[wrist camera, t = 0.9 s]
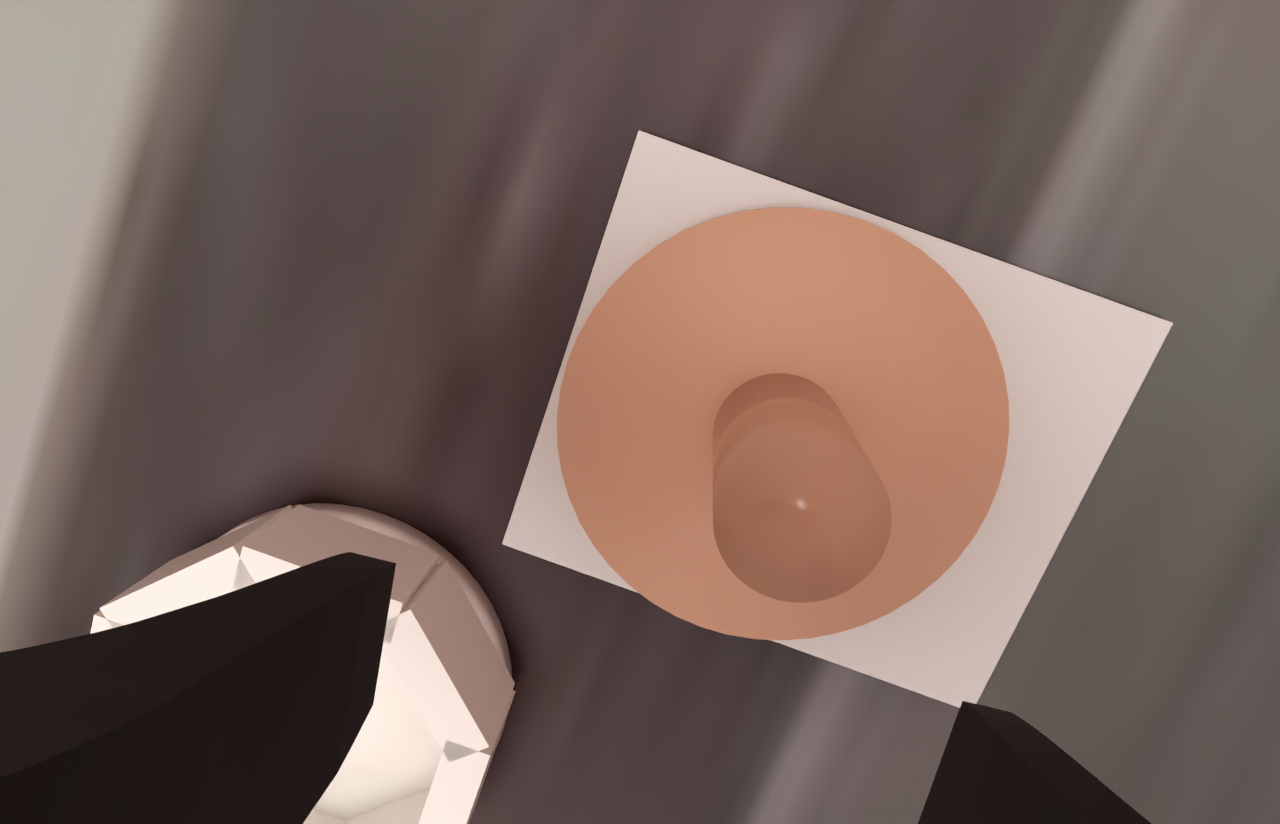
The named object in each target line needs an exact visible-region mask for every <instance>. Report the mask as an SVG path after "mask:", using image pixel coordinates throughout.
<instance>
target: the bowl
mask: <svg viewBox="0 0 1280 824" xmlns="http://www.w3.org/2000/svg"><path fill="white" fill-rule="evenodd" d="M347 552H352V553H356V554H360V555H364V556H369V557H373V558H377V559H381V560H385V561H389V562H393V563H396V567H395V574H394V580H393V586H392V592H391V598H390V604H389V611H388V617H387V623H386V629H385V635H384V641H383V647H382V654H381V660H380V666H379V672H378V678H377V684H376V690H375V697H374V703H373V706H372V708H371V710H370V712H369V714H368V716H367V718H366V720H365V722H364V724H363V726H362V728H361V730H360V732H359V734H358V735H357V737H356V739H355V741H354V743H353V745H352V747H351V749H350V751H349V753H348V754H347V756H346V758H345V760H344V762H343V764H342V766H341V767H340V769H339V771H338V773H337V775H336V776H335V778H334V779H333V781H332V782H331V783H330V785H329V786H328V788H327V789H326V791H325V792H324V794H323V795H322V797H321V798H320V800H319V801H318V802H317V804H316V805H315V807H314V808H313V810H312V811H311V812H310V814H309V815H308V817H307V818H306V820H305V821H304V823H303V824H469V821H470V819H471V816H472V814H473V811H474V809H475V806H476V803H477V800H478V797H479V795H480V792H481V789H482V786H483V783H484V780H485V778H486V775H487V772H488V769H489V766H490V763H491V761H492V758H493V755H494V752H495V749H496V747H497V744H498V742H499V739H500V737H501V734H502V731H503V729H504V726H505V723H506V719H507V715H508V712H509V709H510V707H511V704H512V701H513V698H514V695H515V692H516V691H514V690H513V687H514V685H515V682H514V681H513V679H512V666H511V660H510V654H509V648H508V644H507V641H506V637H505V634H504V631H503V628H502V625H501V623H500V620H499V618H498V616H497V614H496V612H495V610H494V608H493V606H492V604H491V602H490V600H489V599H488V597H487V596H486V594H485V593H484V591H483V589H482V588H481V586H480V585H479V583H478V582H477V581H476V580H475V579H474V577H473V576H472V575H471V574H470V573H469V571H468V570H467V569H466V568H465V567H464V566H463V565H462V564H461V563H460V562H459V561H458V560H457V559H456V558H455V557H454V556H453V555H452V554H451V553H450V552H449V551H448V550H446V549H445V548H444V547H442V546H441V545H440V544H438V543H437V542H436V541H434V540H433V539H432V538H430V537H429V536H427V535H426V534H424V533H422V532H420V531H419V530H417V529H415V528H413V527H412V526H410V525H408V524H406V523H404V522H402V521H399V520H397V519H395V518H392V517H390V516H387V515H385V514H382V513H378V512H375V511H371V510H368V509H365V508H361V507H354V506H348V505H342V504H327V503H311V504H300V505H292V506H291V505H288V506H286V507H283V508H279V509H274V510H271V511H268V512H265V513H263V514H260V515H257V516H255V517H252V518H250V519H248V520H247V521H245V522H243V523H241V524H239V525H238V526H236V527H234V528H232V529H231V530H229V531H228V532H227V533H225V534H224V535H222V536H221V537H219V538H218V539H216V540H213V541H211V542H209V543H207V544H205V545H203V546H201V547H198V548H196V549H194V550H192V551H190V552H188V553H186V554H183V555H181V556H179V557H177V558H175V559H173V560H171V561H169V562H168V563H166V564H165V565H163V566H162V567H160V568H159V569H157V570H156V571H154V572H153V573H151V574H150V575H148V576H147V577H145V578H144V579H142V580H141V581H139V582H138V583H136V584H135V585H133V586H132V587H130V588H129V589H127V590H126V591H124V592H123V593H121V594H120V595H118V596H117V597H115V598H114V599H112V600H111V601H109V602H108V603H106V604H105V605H103V606H102V607H100V611H99V612H97V613H96V614H94V618H93V623H92V628H91V633H90V634H92V633H96V632H100V631H104V630H108V629H112V628H116V627H119V626H123V625H127V624H130V623H134V622H138V621H141V620H144V619H147V618H151V617H154V616H157V615H160V614H163V613H167V612H170V611H173V610H176V609H180V608H183V607H186V606H189V605H192V604H196V603H199V602H202V601H205V600H209V599H212V598H215V597H218V596H221V595H224V594H227V593H230V592H232V591H235V590H238V589H241V588H244V587H247V586H249V585H252V584H255V583H258V582H261V581H263V580H266V579H269V578H272V577H275V576H277V575H280V574H283V573H286V572H288V571H291V570H294V569H297V568H299V567H302V566H305V565H308V564H311V563H314V562H316V561H319V560H322V559H325V558H328V557H331V556H335V555H338V554H342V553H347Z"/></svg>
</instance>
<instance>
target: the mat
mask: <svg viewBox="0 0 1280 824" xmlns="http://www.w3.org/2000/svg"><path fill="white" fill-rule="evenodd" d="M768 207H799V208H808V209H815V210H822V211H829V212H836V213H840V214H843V215H847V216H850V217H854V218H857V219H861V220H864V221H867V222H869V223H872V224H874V225H876V226H879V227H881V228H883V229H885V230H888V231H890V232H892V233H894V234H896V235H898V236H899V237H901V238H903V239H904V240H906V241H907V242H909V243H911V244H912V245H914V246H916V247H917V248H919V249H920V250H922V251H923V252H924V253H925V254H927V255H928V256H929V257H930V258H931V259H933V260H934V261H935V262H936V263H937V264H939V265H940V266H941V267H942V268H944V269H945V270H946V271H947V273H948V274H949V275H950V276H951V277H952V278H953V279H954V280H955V281H956V282H957V284H958V285H959V286H960V287H961V288H962V289H963V290H964V291H965V293H966V294H967V296H968V297H969V298H970V300H971V301H972V303H973V304H974V306H975V307H976V309H977V310H978V312H979V313H980V315H981V316H982V318H983V320H984V322H985V324H986V326H987V328H988V330H989V332H990V335H991V337H992V339H993V341H994V343H995V345H996V349H997V352H998V355H999V358H1000V361H1001V364H1002V367H1003V371H1004V375H1005V381H1006V387H1007V393H1008V399H1009V438H1008V446H1007V455H1006V461H1005V465H1004V468H1003V472H1002V476H1001V480H1000V484H999V487H998V490H997V492H996V495H995V497H994V499H993V502H992V504H991V507H990V509H989V512H988V514H987V515H986V517H985V519H984V521H983V522H982V524H981V526H980V528H979V529H978V531H977V533H976V535H975V536H974V538H973V539H972V541H971V542H970V543H969V545H968V546H967V547H966V549H965V550H964V551H963V552H962V554H961V555H960V556H959V558H958V559H957V560H956V561H955V562H954V563H953V564H952V565H951V566H950V567H949V569H948V570H947V571H946V572H945V573H944V574H943V575H942V576H941V577H940V578H939V579H938V580H937V581H935V582H934V583H933V584H932V585H930V586H929V587H928V588H927V589H925V590H924V591H923V592H922V593H920V594H919V595H918V596H917V597H915V598H914V599H912V600H911V601H909V602H907V603H906V604H904V605H902V606H901V607H899V608H897V609H896V610H894V611H893V612H891V613H889V614H887V615H885V616H882V617H880V618H878V619H876V620H874V621H871V622H869V623H867V624H865V625H862V626H859V627H855V628H852V629H849V630H846V631H843V632H840V633H836V634H831V635H825V636H820V637H815V638H809V639H795V640H771V641H774V642H777V643H780V644H783V645H785V646H788V647H791V648H794V649H797V650H799V651H802V652H805V653H808V654H811V655H813V656H816V657H819V658H822V659H825V660H827V661H830V662H833V663H836V664H839V665H841V666H844V667H847V668H850V669H853V670H855V671H858V672H861V673H864V674H867V675H869V676H872V677H875V678H878V679H881V680H883V681H886V682H889V683H892V684H894V685H897V686H900V687H903V688H906V689H908V690H911V691H914V692H917V693H920V694H922V695H925V696H928V697H931V698H934V699H936V700H939V701H942V702H945V703H948V704H950V705H953V706H956V707H959V708H960V707H961V704H962V701H966V702H970V703H974V704H976V703H977V701H978V699H979V697H980V695H981V694H982V692H983V690H984V688H985V686H986V684H987V682H988V680H989V678H990V676H991V674H992V672H993V670H994V668H995V666H996V665H997V663H998V661H999V659H1000V657H1001V655H1002V653H1003V651H1004V649H1005V647H1006V645H1007V643H1008V641H1009V639H1010V637H1011V636H1012V634H1013V632H1014V630H1015V628H1016V626H1017V624H1018V622H1019V620H1020V618H1021V616H1022V614H1023V612H1024V610H1025V608H1026V607H1027V605H1028V603H1029V601H1030V599H1031V597H1032V595H1033V593H1034V591H1035V589H1036V587H1037V585H1038V583H1039V581H1040V579H1041V578H1042V576H1043V574H1044V572H1045V570H1046V568H1047V566H1048V564H1049V562H1050V560H1051V558H1052V556H1053V554H1054V552H1055V550H1056V549H1057V547H1058V545H1059V543H1060V541H1061V539H1062V537H1063V535H1064V533H1065V531H1066V529H1067V527H1068V525H1069V523H1070V521H1071V520H1072V518H1073V516H1074V514H1075V512H1076V510H1077V508H1078V506H1079V504H1080V502H1081V500H1082V498H1083V496H1084V494H1085V492H1086V491H1087V489H1088V487H1089V485H1090V483H1091V481H1092V479H1093V477H1094V475H1095V473H1096V471H1097V469H1098V467H1099V465H1100V463H1101V462H1102V460H1103V458H1104V456H1105V454H1106V452H1107V450H1108V448H1109V446H1110V444H1111V442H1112V440H1113V438H1114V436H1115V434H1116V433H1117V431H1118V429H1119V427H1120V425H1121V423H1122V421H1123V419H1124V417H1125V415H1126V413H1127V411H1128V409H1129V407H1130V405H1131V404H1132V402H1133V400H1134V398H1135V396H1136V394H1137V392H1138V390H1139V388H1140V386H1141V384H1142V382H1143V380H1144V378H1145V376H1146V375H1147V373H1148V371H1149V369H1150V367H1151V365H1152V363H1153V361H1154V359H1155V357H1156V355H1157V353H1158V351H1159V349H1160V347H1161V346H1162V344H1163V342H1164V340H1165V338H1166V336H1167V334H1168V332H1169V330H1170V328H1171V326H1172V324H1173V323H1171V322H1169V321H1166V320H1163V319H1160V318H1158V317H1155V316H1152V315H1149V314H1147V313H1144V312H1141V311H1138V310H1135V309H1133V308H1130V307H1127V306H1124V305H1122V304H1119V303H1116V302H1113V301H1111V300H1108V299H1105V298H1102V297H1099V296H1097V295H1094V294H1091V293H1088V292H1086V291H1083V290H1080V289H1077V288H1075V287H1072V286H1069V285H1066V284H1063V283H1061V282H1058V281H1055V280H1052V279H1050V278H1047V277H1044V276H1041V275H1039V274H1036V273H1033V272H1030V271H1027V270H1025V269H1022V268H1019V267H1016V266H1014V265H1011V264H1008V263H1005V262H1002V261H1000V260H997V259H994V258H991V257H989V256H986V255H983V254H980V253H978V252H975V251H972V250H969V249H966V248H964V247H961V246H958V245H955V244H953V243H950V242H947V241H944V240H942V239H939V238H936V237H933V236H930V235H928V234H925V233H922V232H919V231H917V230H914V229H911V228H908V227H906V226H903V225H900V224H897V223H894V222H892V221H889V220H886V219H883V218H881V217H878V216H875V215H872V214H869V213H867V212H864V211H861V210H858V209H856V208H853V207H850V206H847V205H845V204H842V203H839V202H836V201H833V200H831V199H828V198H825V197H822V196H820V195H817V194H814V193H811V192H809V191H806V190H803V189H800V188H797V187H795V186H792V185H789V184H786V183H784V182H781V181H778V180H775V179H773V178H770V177H767V176H764V175H761V174H759V173H756V172H753V171H750V170H748V169H745V168H742V167H739V166H736V165H734V164H731V163H728V162H725V161H723V160H720V159H717V158H714V157H712V156H709V155H706V154H703V153H700V152H698V151H695V150H692V149H689V148H687V147H684V146H681V145H678V144H676V143H673V142H670V141H667V140H664V139H662V138H659V137H656V136H653V135H651V134H648V133H645V132H642V131H640V130H639V131H638V134H637V137H636V140H635V143H634V146H633V149H632V152H631V155H630V158H629V161H628V164H627V167H626V170H625V173H624V176H623V179H622V183H621V186H620V189H619V192H618V195H617V198H616V201H615V204H614V207H613V210H612V213H611V216H610V219H609V222H608V225H607V228H606V231H605V234H604V237H603V240H602V243H601V246H600V249H599V252H598V255H597V258H596V261H595V264H594V267H593V270H592V273H591V276H590V279H589V282H588V285H587V288H586V292H585V295H584V298H583V301H582V304H581V307H580V310H579V313H578V316H577V319H576V322H575V325H574V328H573V331H572V334H571V337H570V340H569V343H568V346H567V349H566V352H565V355H564V358H563V361H562V364H561V367H560V370H559V373H558V376H557V379H556V382H555V385H554V388H553V391H552V394H551V397H550V400H549V404H548V407H547V410H546V413H545V416H544V419H543V422H542V425H541V428H540V431H539V434H538V437H537V440H536V443H535V446H534V449H533V452H532V455H531V458H530V461H529V464H528V467H527V470H526V473H525V476H524V479H523V482H522V485H521V488H520V491H519V494H518V497H517V500H516V503H515V506H514V509H513V513H512V516H511V519H510V522H509V525H508V528H507V531H506V534H505V537H504V540H503V543H502V544H503V545H506V546H509V547H511V548H514V549H517V550H520V551H523V552H525V553H528V554H531V555H534V556H537V557H539V558H542V559H545V560H548V561H551V562H553V563H556V564H559V565H562V566H565V567H567V568H570V569H573V570H576V571H579V572H581V573H584V574H587V575H590V576H593V577H595V578H598V579H601V580H604V581H606V582H609V583H612V584H615V585H618V586H620V587H623V588H626V589H629V590H632V591H634V592H637V591H636V590H635V589H633V588H632V587H631V586H630V585H629V584H628V583H626V582H625V581H624V580H623V579H622V578H621V577H620V576H619V575H618V574H617V573H616V572H615V571H614V570H613V569H612V568H611V567H610V566H609V564H608V563H607V562H606V561H605V559H604V558H603V557H602V556H601V554H600V553H599V552H598V551H597V549H596V548H595V547H594V545H593V544H592V542H591V540H590V539H589V537H588V535H587V534H586V532H585V530H584V529H583V527H582V525H581V524H580V522H579V520H578V517H577V515H576V513H575V511H574V508H573V506H572V504H571V501H570V499H569V496H568V493H567V489H566V486H565V483H564V479H563V476H562V472H561V466H560V459H559V453H558V446H557V411H558V403H559V395H560V388H561V384H562V380H563V376H564V372H565V368H566V365H567V361H568V359H569V356H570V354H571V351H572V349H573V346H574V344H575V341H576V339H577V337H578V334H579V333H580V331H581V329H582V327H583V326H584V324H585V322H586V320H587V319H588V317H589V315H590V313H591V312H592V310H593V309H594V307H595V306H596V305H597V303H598V302H599V301H600V299H601V298H602V297H603V296H604V294H605V293H606V292H607V290H608V289H609V288H610V286H611V285H612V284H613V283H614V282H615V281H616V280H617V279H618V278H619V277H620V276H621V275H622V274H623V273H624V272H625V271H626V270H627V269H628V268H629V267H630V266H632V265H633V264H634V263H635V262H636V261H638V260H639V259H640V258H641V257H643V256H644V255H645V254H647V253H648V252H649V251H651V250H652V249H653V248H655V247H656V246H657V245H659V244H660V243H662V242H664V241H665V240H667V239H669V238H671V237H672V236H674V235H676V234H678V233H679V232H681V231H683V230H685V229H687V228H690V227H692V226H694V225H697V224H699V223H702V222H704V221H707V220H709V219H712V218H715V217H719V216H723V215H727V214H731V213H734V212H738V211H744V210H752V209H760V208H768ZM637 593H639V592H637Z"/></svg>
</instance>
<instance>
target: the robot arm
mask: <svg viewBox="0 0 1280 824" xmlns="http://www.w3.org/2000/svg"><path fill="white" fill-rule="evenodd" d="M395 567H396V563H393V562H389V561H385V560H381V559H377V558H373V557H369V556H364V555H360V554H356V553H352V552H347V553H342V554H338V555H335V556H331V557H328V558H325V559H322V560H319V561H316V562H314V563H311V564H308V565H305V566H302V567H299V568H297V569H294V570H291V571H288V572H286V573H283V574H280V575H277V576H275V577H272V578H269V579H266V580H263V581H261V582H258V583H255V584H252V585H249V586H247V587H244V588H241V589H238V590H235V591H232V592H230V593H227V594H224V595H221V596H218V597H215V598H212V599H209V600H205V601H202V602H199V603H196V604H192V605H189V606H186V607H183V608H180V609H176V610H173V611H170V612H167V613H163V614H160V615H157V616H154V617H151V618H147V619H144V620H141V621H138V622H134V623H130V624H127V625H123V626H119V627H116V628H112V629H108V630H104V631H100V632H96V633H92V634H88V635H83V636H79V637H74V638H70V639H65V640H61V641H56V642H52V643H47V644H43V645H38V646H34V647H29V648H23V649H18V650H13V651H7V652H1V653H0V824H303V823H304V821H305V820H306V818H307V817H308V815H309V814H310V812H311V811H312V810H313V808H314V807H315V805H316V804H317V802H318V801H319V800H320V798H321V797H322V795H323V794H324V792H325V791H326V789H327V788H328V786H329V785H330V783H331V782H332V781H333V779H334V778H335V776H336V775H337V773H338V771H339V769H340V767H341V766H342V764H343V762H344V760H345V758H346V756H347V754H348V753H349V751H350V749H351V747H352V745H353V743H354V741H355V739H356V737H357V735H358V734H359V732H360V730H361V728H362V726H363V724H364V722H365V720H366V718H367V716H368V714H369V712H370V710H371V708H372V706H373V703H374V697H375V690H376V684H377V678H378V672H379V666H380V660H381V654H382V647H383V641H384V635H385V629H386V623H387V617H388V611H389V604H390V598H391V592H392V586H393V580H394V574H395ZM918 824H1151V823H1150V822H1148V821H1147V820H1146V819H1145V818H1144V817H1142V816H1141V815H1140V814H1139V813H1138V812H1136V811H1135V810H1134V809H1133V808H1132V807H1130V806H1129V805H1128V804H1127V803H1126V802H1124V801H1123V800H1122V799H1121V798H1120V797H1118V796H1117V795H1116V794H1115V793H1114V792H1112V791H1111V790H1110V789H1109V788H1108V787H1106V786H1105V785H1104V784H1103V783H1102V782H1100V781H1099V780H1098V779H1097V778H1096V777H1094V776H1093V775H1092V774H1091V773H1090V772H1088V771H1087V770H1086V769H1085V768H1084V767H1082V766H1081V765H1080V764H1079V763H1078V762H1076V761H1075V760H1074V759H1073V758H1072V757H1070V756H1069V755H1068V754H1067V753H1066V752H1064V751H1063V750H1062V749H1061V748H1059V747H1058V746H1057V745H1056V744H1054V743H1053V742H1052V741H1051V740H1049V739H1048V738H1047V737H1046V736H1044V735H1043V734H1042V733H1040V732H1039V731H1038V730H1036V729H1035V728H1034V727H1032V726H1031V725H1030V724H1028V723H1027V722H1025V721H1024V720H1022V719H1021V718H1019V717H1018V716H1016V715H1015V714H1013V713H1011V712H1007V711H1003V710H999V709H995V708H990V707H986V706H982V705H978V704H974V703H970V702H966V701H962V704H961V707H960V709H959V712H958V715H957V718H956V720H955V723H954V726H953V729H952V731H951V734H950V737H949V740H948V742H947V745H946V748H945V751H944V754H943V756H942V759H941V762H940V765H939V767H938V770H937V773H936V776H935V778H934V781H933V784H932V787H931V789H930V792H929V795H928V798H927V800H926V803H925V806H924V809H923V811H922V814H921V817H920V820H919V822H918Z"/></svg>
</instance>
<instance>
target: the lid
mask: <svg viewBox="0 0 1280 824" xmlns="http://www.w3.org/2000/svg"><path fill="white" fill-rule="evenodd" d="M1008 438H1009V399H1008V393H1007V387H1006V381H1005V375H1004V371H1003V367H1002V364H1001V361H1000V358H999V355H998V352H997V349H996V345H995V343H994V341H993V339H992V337H991V335H990V332H989V330H988V328H987V326H986V324H985V322H984V320H983V318H982V316H981V315H980V313H979V312H978V310H977V309H976V307H975V306H974V304H973V303H972V301H971V300H970V298H969V297H968V296H967V294H966V293H965V291H964V290H963V289H962V288H961V287H960V286H959V285H958V284H957V282H956V281H955V280H954V279H953V278H952V277H951V276H950V275H949V274H948V273H947V271H946V270H945V269H944V268H942V267H941V266H940V265H939V264H937V263H936V262H935V261H934V260H933V259H931V258H930V257H929V256H928V255H927V254H925V253H924V252H923V251H922V250H920V249H919V248H917V247H916V246H914V245H912V244H911V243H909V242H907V241H906V240H904V239H903V238H901V237H899V236H898V235H896V234H894V233H892V232H890V231H888V230H885V229H883V228H881V227H879V226H876V225H874V224H872V223H869V222H867V221H864V220H861V219H857V218H854V217H850V216H847V215H843V214H840V213H836V212H829V211H822V210H815V209H808V208H799V207H768V208H760V209H752V210H744V211H738V212H734V213H731V214H727V215H723V216H719V217H715V218H712V219H709V220H707V221H704V222H702V223H699V224H697V225H694V226H692V227H690V228H687V229H685V230H683V231H681V232H679V233H678V234H676V235H674V236H672V237H671V238H669V239H667V240H665V241H664V242H662V243H660V244H659V245H657V246H656V247H655V248H653V249H652V250H651V251H649V252H648V253H647V254H645V255H644V256H643V257H641V258H640V259H639V260H638V261H636V262H635V263H634V264H633V265H632V266H630V267H629V268H628V269H627V270H626V271H625V272H624V273H623V274H622V275H621V276H620V277H619V278H618V279H617V280H616V281H615V282H614V283H613V284H612V285H611V286H610V288H609V289H608V290H607V292H606V293H605V294H604V296H603V297H602V298H601V299H600V301H599V302H598V303H597V305H596V306H595V307H594V309H593V310H592V312H591V313H590V315H589V317H588V319H587V320H586V322H585V324H584V326H583V327H582V329H581V331H580V333H579V334H578V337H577V339H576V341H575V344H574V346H573V349H572V351H571V354H570V356H569V359H568V361H567V365H566V368H565V372H564V376H563V380H562V384H561V388H560V395H559V403H558V411H557V446H558V453H559V459H560V466H561V472H562V476H563V479H564V483H565V486H566V489H567V493H568V496H569V499H570V501H571V504H572V506H573V508H574V511H575V513H576V515H577V517H578V520H579V522H580V524H581V525H582V527H583V529H584V530H585V532H586V534H587V535H588V537H589V539H590V540H591V542H592V544H593V545H594V547H595V548H596V549H597V551H598V552H599V553H600V554H601V556H602V557H603V558H604V559H605V561H606V562H607V563H608V564H609V566H610V567H611V568H612V569H613V570H614V571H615V572H616V573H617V574H618V575H619V576H620V577H621V578H622V579H623V580H624V581H625V582H626V583H628V584H629V585H630V586H631V587H632V588H633V589H635V590H636V591H637V592H639V593H640V594H641V595H643V596H644V597H645V598H647V599H648V600H649V601H651V602H652V603H654V604H655V605H657V606H659V607H661V608H662V609H664V610H666V611H667V612H669V613H671V614H673V615H674V616H676V617H679V618H681V619H683V620H686V621H688V622H690V623H693V624H695V625H697V626H700V627H703V628H706V629H710V630H713V631H717V632H720V633H723V634H727V635H733V636H739V637H745V638H751V639H763V640H795V639H809V638H815V637H820V636H825V635H831V634H836V633H840V632H843V631H846V630H849V629H852V628H855V627H859V626H862V625H865V624H867V623H869V622H871V621H874V620H876V619H878V618H880V617H882V616H885V615H887V614H889V613H891V612H893V611H894V610H896V609H897V608H899V607H901V606H902V605H904V604H906V603H907V602H909V601H911V600H912V599H914V598H915V597H917V596H918V595H919V594H920V593H922V592H923V591H924V590H925V589H927V588H928V587H929V586H930V585H932V584H933V583H934V582H935V581H937V580H938V579H939V578H940V577H941V576H942V575H943V574H944V573H945V572H946V571H947V570H948V569H949V567H950V566H951V565H952V564H953V563H954V562H955V561H956V560H957V559H958V558H959V556H960V555H961V554H962V552H963V551H964V550H965V549H966V547H967V546H968V545H969V543H970V542H971V541H972V539H973V538H974V536H975V535H976V533H977V531H978V529H979V528H980V526H981V524H982V522H983V521H984V519H985V517H986V515H987V514H988V512H989V509H990V507H991V504H992V502H993V499H994V497H995V495H996V492H997V490H998V487H999V484H1000V480H1001V476H1002V472H1003V468H1004V465H1005V461H1006V455H1007V446H1008Z"/></svg>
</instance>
